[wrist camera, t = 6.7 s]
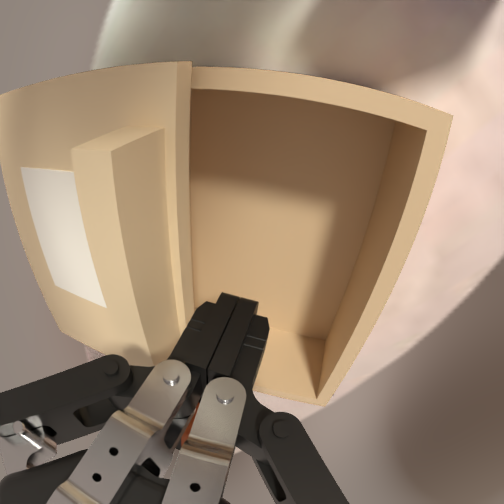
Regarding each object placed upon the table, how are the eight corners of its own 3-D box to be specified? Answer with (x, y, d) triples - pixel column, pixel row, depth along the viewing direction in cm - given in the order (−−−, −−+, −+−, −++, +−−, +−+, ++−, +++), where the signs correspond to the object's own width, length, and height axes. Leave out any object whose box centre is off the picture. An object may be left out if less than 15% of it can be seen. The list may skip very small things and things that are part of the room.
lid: (5, 93, 10) (-46, 113, 7) (191, 61, 8) (120, 63, 5) (67, 323, 21) (42, 353, 18) (200, 380, 19) (179, 424, 16)
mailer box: (186, 66, 14) (117, 71, 9) (411, 99, 12) (453, 115, 7) (190, 304, 24) (157, 359, 19) (333, 340, 22) (324, 406, 17)
